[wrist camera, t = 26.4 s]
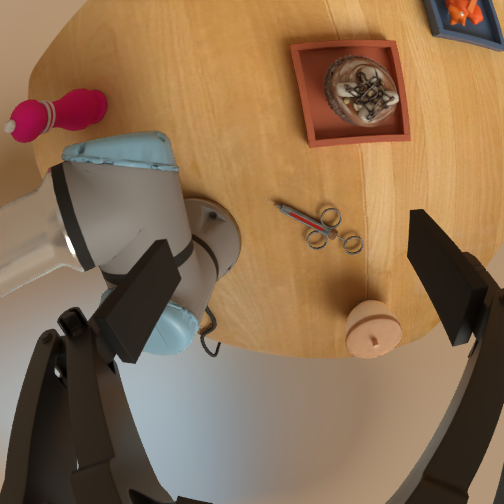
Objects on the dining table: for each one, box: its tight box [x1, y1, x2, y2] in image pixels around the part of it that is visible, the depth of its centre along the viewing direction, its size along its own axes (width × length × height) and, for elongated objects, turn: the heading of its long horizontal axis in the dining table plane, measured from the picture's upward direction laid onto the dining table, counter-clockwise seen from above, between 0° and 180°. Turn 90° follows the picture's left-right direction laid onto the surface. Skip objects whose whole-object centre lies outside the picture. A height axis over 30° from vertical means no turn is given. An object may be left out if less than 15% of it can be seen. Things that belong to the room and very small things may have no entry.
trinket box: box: [345, 300, 402, 358], centre depth 47 cm, size 11×11×9 cm
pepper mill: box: [4, 89, 107, 143], centre depth 30 cm, size 7×7×20 cm
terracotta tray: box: [289, 40, 411, 148], centre depth 32 cm, size 15×15×2 cm
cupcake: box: [322, 54, 399, 127], centre depth 28 cm, size 10×10×10 cm
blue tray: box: [422, 0, 504, 52], centre depth 19 cm, size 15×15×2 cm
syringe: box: [264, 199, 363, 255], centre depth 43 cm, size 8×18×2 cm, turn 65°
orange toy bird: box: [445, 0, 483, 26], centre depth 18 cm, size 5×8×12 cm
